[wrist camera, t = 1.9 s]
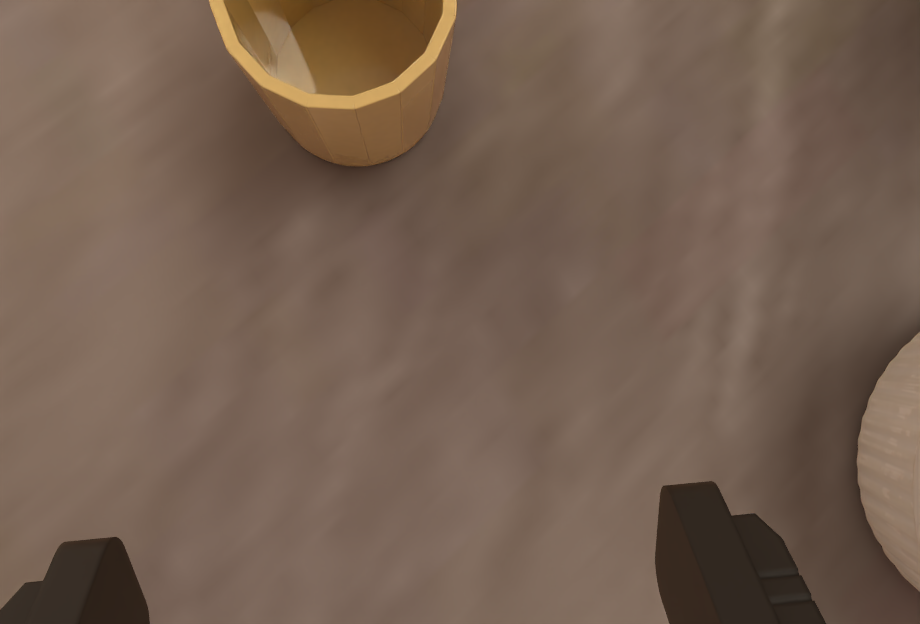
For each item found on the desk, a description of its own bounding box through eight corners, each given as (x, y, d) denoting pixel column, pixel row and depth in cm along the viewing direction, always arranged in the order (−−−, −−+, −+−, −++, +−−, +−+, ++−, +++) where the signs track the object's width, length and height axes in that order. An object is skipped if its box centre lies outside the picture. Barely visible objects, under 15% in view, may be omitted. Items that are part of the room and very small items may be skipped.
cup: (361, -42, 30) (340, -191, 21) (478, 86, 31) (507, -6, 21) (233, 74, 30) (157, -25, 21) (352, 202, 30) (328, 159, 21)
